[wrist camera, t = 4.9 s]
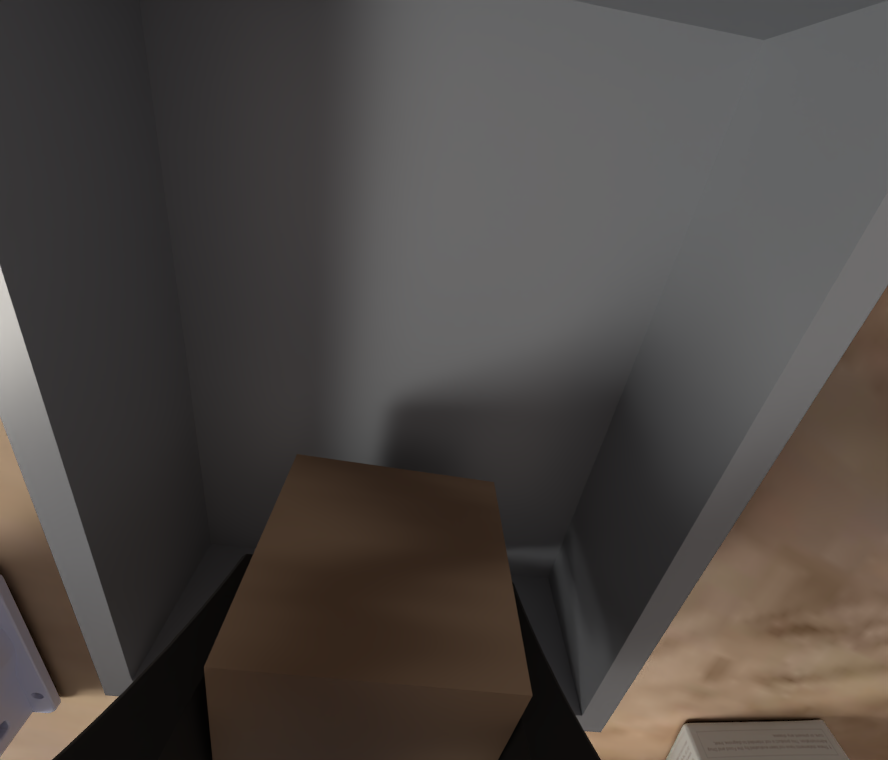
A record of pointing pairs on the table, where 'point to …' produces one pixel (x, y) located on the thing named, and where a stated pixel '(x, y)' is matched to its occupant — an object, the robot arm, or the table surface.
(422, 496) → the walnut cube
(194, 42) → the tote
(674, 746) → the supplement box
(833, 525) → the table surface
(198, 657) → the robot arm
